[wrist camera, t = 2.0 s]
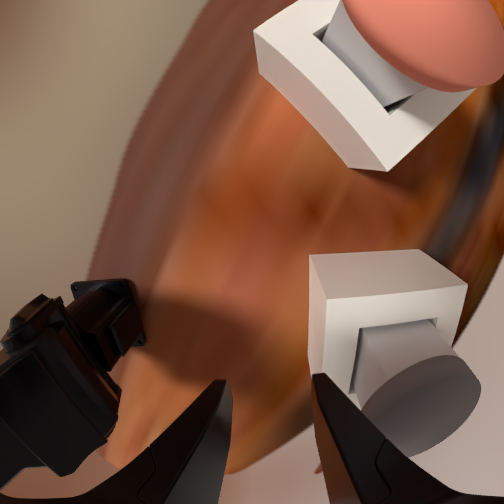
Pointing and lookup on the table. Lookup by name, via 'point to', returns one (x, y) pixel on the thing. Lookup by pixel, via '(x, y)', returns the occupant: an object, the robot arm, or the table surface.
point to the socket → (374, 303)
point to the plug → (412, 384)
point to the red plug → (417, 45)
